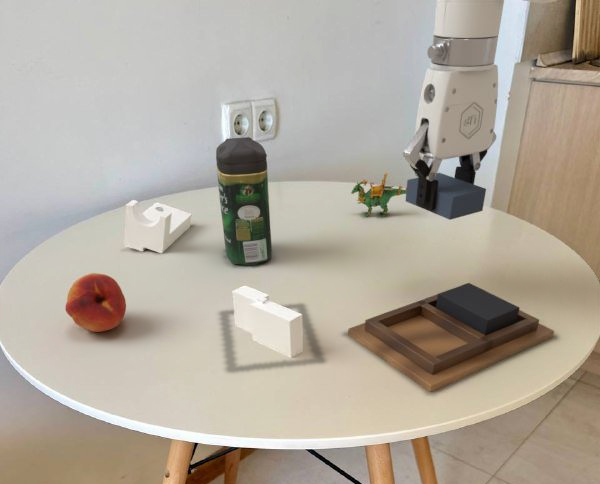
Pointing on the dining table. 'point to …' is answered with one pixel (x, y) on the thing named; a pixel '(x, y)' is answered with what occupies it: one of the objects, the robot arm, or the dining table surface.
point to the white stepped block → (268, 321)
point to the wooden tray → (442, 342)
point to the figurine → (376, 195)
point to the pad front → (451, 196)
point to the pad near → (477, 308)
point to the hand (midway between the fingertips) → (443, 201)
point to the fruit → (96, 302)
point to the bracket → (154, 226)
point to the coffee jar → (244, 200)
